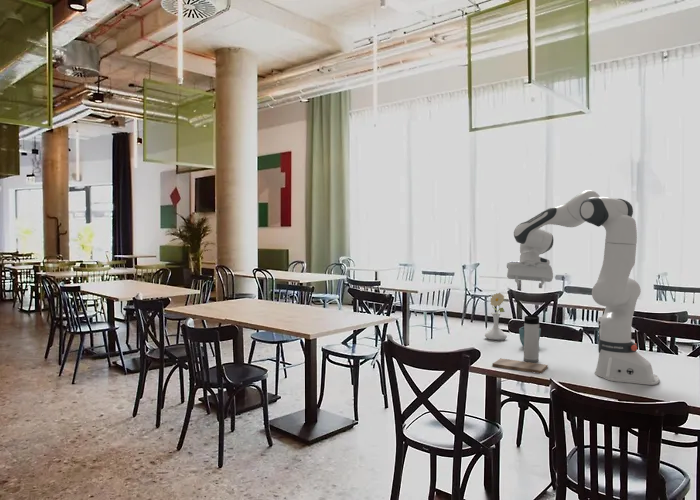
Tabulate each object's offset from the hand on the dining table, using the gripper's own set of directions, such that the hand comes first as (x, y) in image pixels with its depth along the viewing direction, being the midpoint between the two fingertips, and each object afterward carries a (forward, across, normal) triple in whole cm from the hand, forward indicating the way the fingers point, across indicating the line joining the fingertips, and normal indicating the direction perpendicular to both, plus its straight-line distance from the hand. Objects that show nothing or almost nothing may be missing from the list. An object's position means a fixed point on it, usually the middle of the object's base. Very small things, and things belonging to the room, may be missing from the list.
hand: (529, 286), depth 243 cm
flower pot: (+11, +4, +36) cm, 37 cm away
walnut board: (+39, -4, +4) cm, 40 cm away
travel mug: (+30, +2, +14) cm, 33 cm away
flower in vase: (+3, -11, +46) cm, 47 cm away
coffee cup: (+4, +41, +41) cm, 58 cm away
